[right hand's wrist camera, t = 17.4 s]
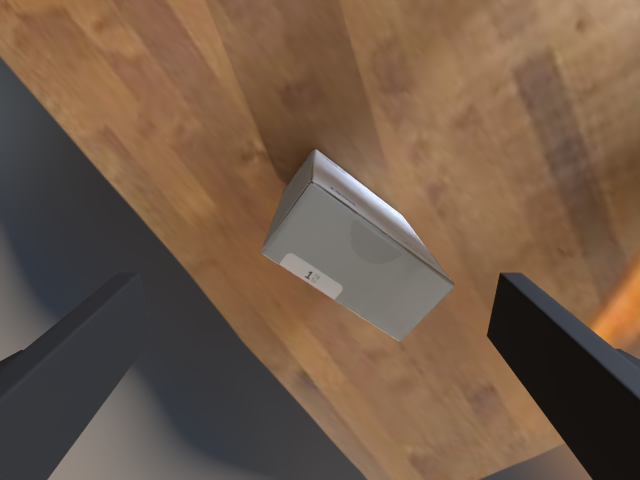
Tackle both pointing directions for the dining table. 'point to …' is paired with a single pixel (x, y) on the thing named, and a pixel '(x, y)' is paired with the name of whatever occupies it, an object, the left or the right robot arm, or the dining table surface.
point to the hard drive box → (354, 248)
